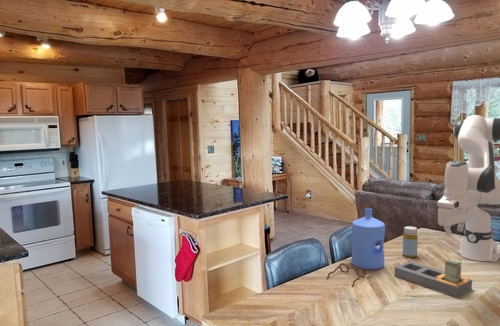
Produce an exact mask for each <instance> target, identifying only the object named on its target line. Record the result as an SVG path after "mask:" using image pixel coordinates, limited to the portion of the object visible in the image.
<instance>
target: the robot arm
mask: <svg viewBox="0 0 500 326" xmlns="http://www.w3.org/2000/svg"><path fill="white" fill-rule="evenodd" d="M452 130H453V132H452V133H453V136H454V138H455V139H456V140H457V144H458V147H459V148H460V149H461V150H462V151H464V153H467V154H468V162H467V161H465V160H460V159H459V160H457V159H456V160H450V161H448V162H447V163H446V166H445V171H444V176H443V183H444V189H443V195H442V197H441V198H440V199H439V200H437V207H438V209H437V223H438V225H439V226H440V227H443V229H444V231H445V236H448V237H450V236H452V232H453V231H452V230H451V227H452V226H454V225H457V224H458V225H457V227H456V231H457V232H459V233H461V232H463V236H462V237H461V239H460V240H461V241H460V248H459V249H458V250H457V253H458V254H460V256H461V257H463V258H465V259H469V260H471V261H478V262H492V263H497V262H498V261H499V260H500V251H499V250H498V243H497V242H496V241H495V240H494V238H493V234H494V232H495V231H494V230H492V228H491V226H492V225H491V224H492V216H491V215H490V214H489V212H487V211H485V210H483V209H481V208H480V207H478V205H481V204H483V205H486V204H487V205H500V179H499V177H498V176H497V172H496V166H495V165H496V164H495V144H496V143H497V141H500V118H498V117H494V118H492V117H491V118H490V117H484V116H482V115H479V114H473V115H472V114H471V115H469V116H467V117H466V119H459V120H457V121H456V122H455V123H454V126H453V129H452ZM494 143H495V144H494ZM464 227H465V228H464Z"/></svg>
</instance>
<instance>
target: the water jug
mask: <svg viewBox="0 0 500 326" xmlns="http://www.w3.org/2000/svg"><path fill="white" fill-rule="evenodd" d="M364 210H365V212H364V213H365V214H364V216H363V217H360V218H358V219H355V220H353V221H352V223H351V234H352V235H351V264H352V265H353V266H354V267H356V268H362V269H364V270H379V269H381V268H383V267H384V266H385V250H384V245H385V244H384V240H385V236H386V225H385V223H384V222H383V221H381V220H379V219H377V218H374V217H373V215H372V214H373V212H372V210H373V208H370V207H367V208H364ZM378 241H379V247H378V246H376V245H375V242H378Z"/></svg>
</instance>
